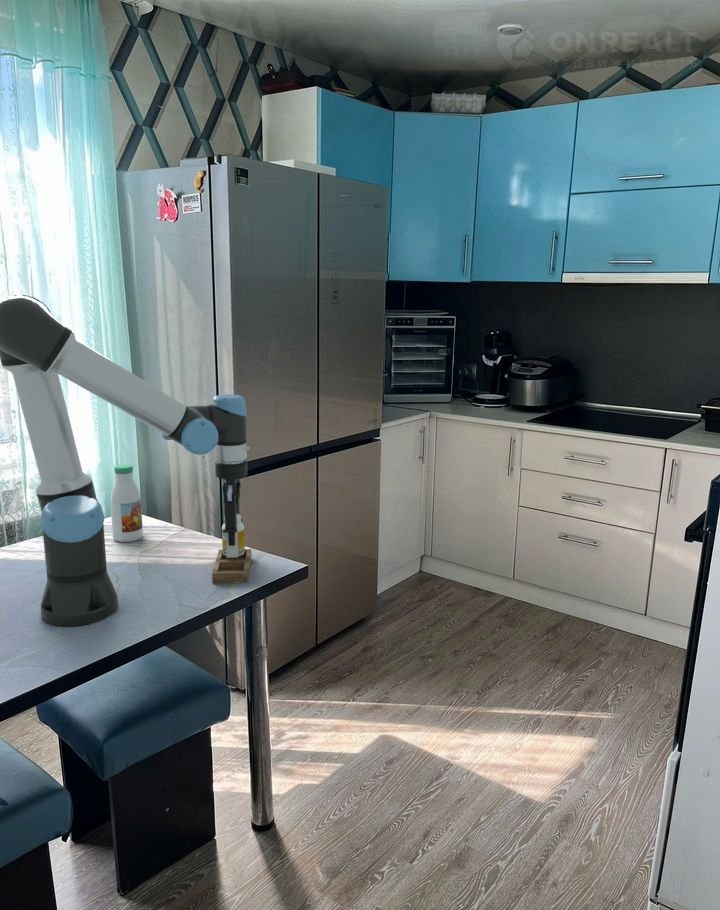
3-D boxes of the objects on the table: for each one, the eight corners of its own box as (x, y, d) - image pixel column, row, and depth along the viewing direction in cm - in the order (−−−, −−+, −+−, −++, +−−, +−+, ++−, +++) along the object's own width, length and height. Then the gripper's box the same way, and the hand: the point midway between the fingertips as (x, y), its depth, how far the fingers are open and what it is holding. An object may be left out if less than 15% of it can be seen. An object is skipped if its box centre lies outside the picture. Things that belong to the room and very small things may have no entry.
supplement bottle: (246, 549, 179) (245, 512, 177) (243, 557, 174) (242, 519, 172) (224, 549, 179) (223, 512, 177) (220, 557, 174) (219, 519, 172)
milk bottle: (111, 543, 190) (106, 470, 185) (114, 533, 197) (109, 462, 193) (141, 541, 191) (137, 469, 187) (144, 532, 199) (139, 461, 194)
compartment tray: (247, 582, 167) (247, 572, 166) (212, 583, 166) (212, 573, 165) (251, 558, 181) (251, 549, 181) (219, 559, 181) (218, 549, 180)
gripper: (244, 470, 162) (246, 566, 168) (249, 451, 180) (251, 539, 186) (210, 470, 162) (213, 567, 167) (219, 451, 180) (221, 539, 185)
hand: (233, 552), depth 177 cm, fingers closed on supplement bottle, 5 cm apart
